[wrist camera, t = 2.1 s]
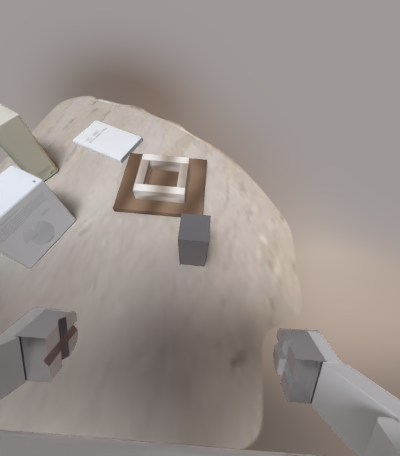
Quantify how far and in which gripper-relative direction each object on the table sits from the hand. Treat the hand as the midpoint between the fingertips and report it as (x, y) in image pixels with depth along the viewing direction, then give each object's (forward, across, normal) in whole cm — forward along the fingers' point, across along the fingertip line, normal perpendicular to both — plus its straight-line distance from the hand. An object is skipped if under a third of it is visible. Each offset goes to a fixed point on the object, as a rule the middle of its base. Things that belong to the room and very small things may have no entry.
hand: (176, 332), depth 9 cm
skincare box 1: (+39, +32, -3) cm, 50 cm away
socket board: (+38, +7, -2) cm, 39 cm away
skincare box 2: (+29, +26, +7) cm, 39 cm away
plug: (+28, 0, +8) cm, 29 cm away
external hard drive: (+46, +21, -9) cm, 52 cm away
